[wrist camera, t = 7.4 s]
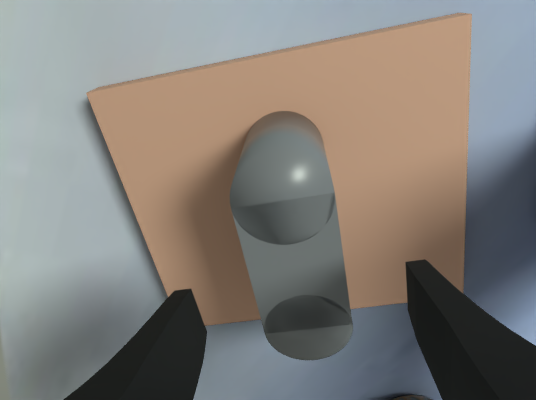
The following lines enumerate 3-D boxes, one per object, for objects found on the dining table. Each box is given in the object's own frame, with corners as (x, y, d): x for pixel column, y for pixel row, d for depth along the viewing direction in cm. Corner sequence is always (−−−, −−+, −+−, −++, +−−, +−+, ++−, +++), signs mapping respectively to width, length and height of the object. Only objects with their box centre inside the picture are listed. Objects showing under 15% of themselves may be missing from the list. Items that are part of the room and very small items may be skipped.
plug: (318, 103, 17) (328, 142, 12) (345, 298, 22) (359, 376, 17) (236, 118, 17) (218, 160, 13) (280, 306, 22) (278, 383, 18)
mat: (459, 12, 16) (471, 13, 15) (454, 281, 22) (463, 296, 21) (98, 87, 18) (86, 92, 17) (185, 313, 24) (180, 328, 23)
